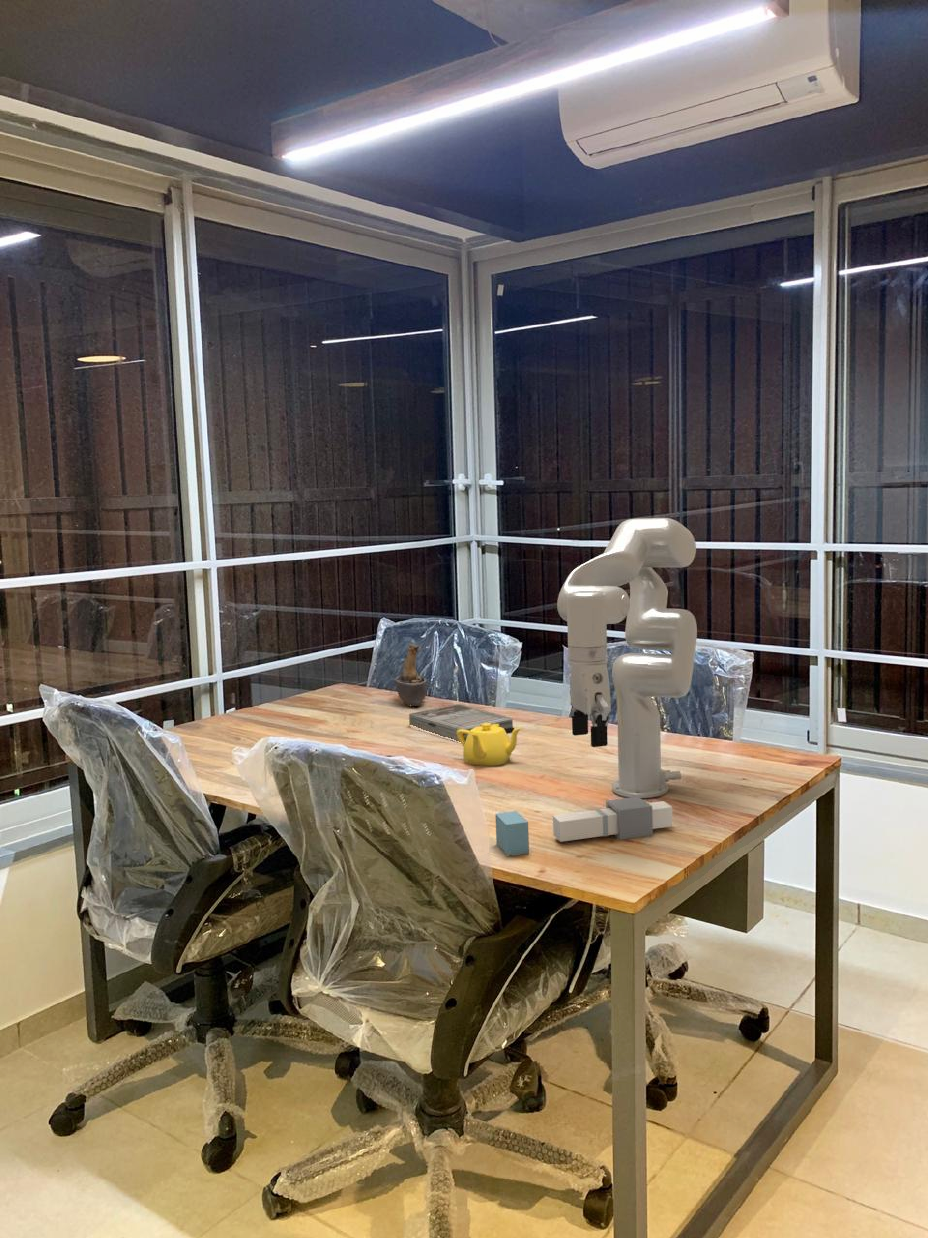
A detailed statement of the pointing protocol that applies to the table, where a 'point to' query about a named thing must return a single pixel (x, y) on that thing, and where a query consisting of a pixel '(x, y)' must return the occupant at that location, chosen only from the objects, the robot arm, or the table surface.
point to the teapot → (487, 744)
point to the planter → (411, 680)
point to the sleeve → (632, 817)
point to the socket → (512, 833)
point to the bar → (602, 822)
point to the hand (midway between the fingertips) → (589, 740)
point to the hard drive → (457, 720)
